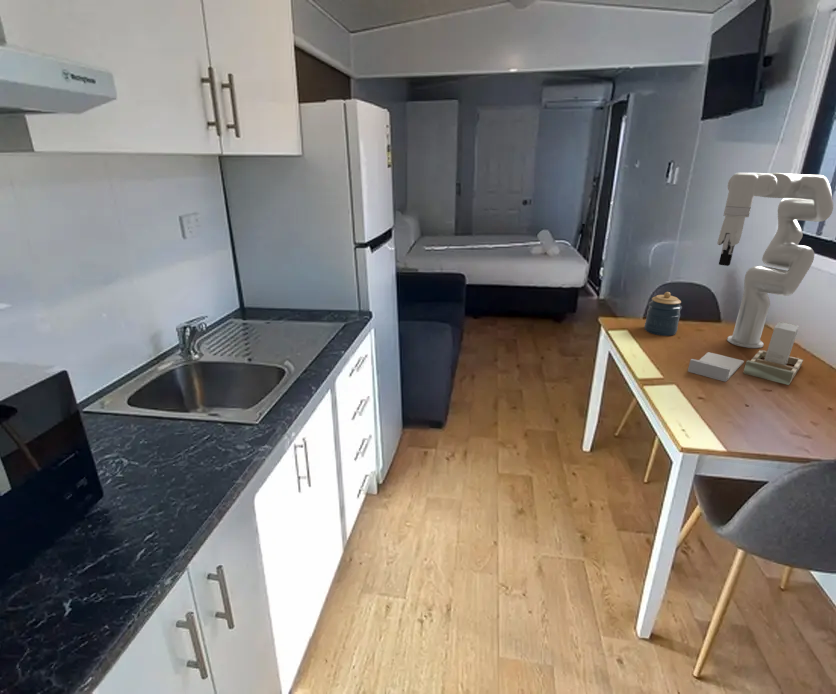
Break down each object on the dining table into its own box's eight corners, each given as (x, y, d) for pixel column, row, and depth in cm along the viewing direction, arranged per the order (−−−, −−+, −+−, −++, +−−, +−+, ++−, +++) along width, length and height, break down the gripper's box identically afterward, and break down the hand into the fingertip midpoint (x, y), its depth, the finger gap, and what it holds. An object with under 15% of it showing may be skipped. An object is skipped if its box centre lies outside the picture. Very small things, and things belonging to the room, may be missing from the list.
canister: (661, 338, 206) (669, 297, 199) (637, 328, 217) (644, 289, 210) (683, 334, 211) (692, 294, 204) (658, 325, 222) (666, 287, 215)
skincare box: (766, 360, 184) (778, 321, 178) (787, 365, 180) (800, 325, 174) (761, 366, 178) (773, 326, 172) (783, 372, 174) (796, 330, 168)
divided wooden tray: (758, 355, 188) (761, 344, 186) (801, 365, 179) (804, 354, 178) (743, 373, 172) (746, 361, 170) (789, 385, 163) (792, 372, 162)
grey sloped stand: (707, 353, 189) (710, 343, 187) (743, 362, 181) (746, 351, 179) (687, 371, 173) (690, 359, 171) (725, 381, 165) (729, 369, 164)
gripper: (730, 209, 175) (718, 260, 182) (718, 212, 165) (706, 266, 172) (754, 211, 171) (741, 263, 177) (743, 214, 161) (730, 269, 167)
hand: (724, 264), depth 175 cm, fingers closed
